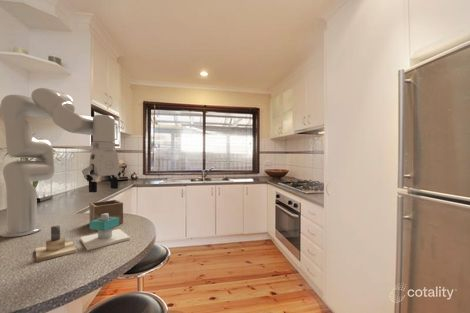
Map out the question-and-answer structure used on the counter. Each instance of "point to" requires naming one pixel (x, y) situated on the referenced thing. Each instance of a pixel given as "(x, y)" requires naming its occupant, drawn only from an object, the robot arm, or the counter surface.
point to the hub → (104, 236)
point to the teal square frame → (104, 223)
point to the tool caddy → (106, 209)
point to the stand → (55, 246)
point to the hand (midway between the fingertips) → (104, 190)
